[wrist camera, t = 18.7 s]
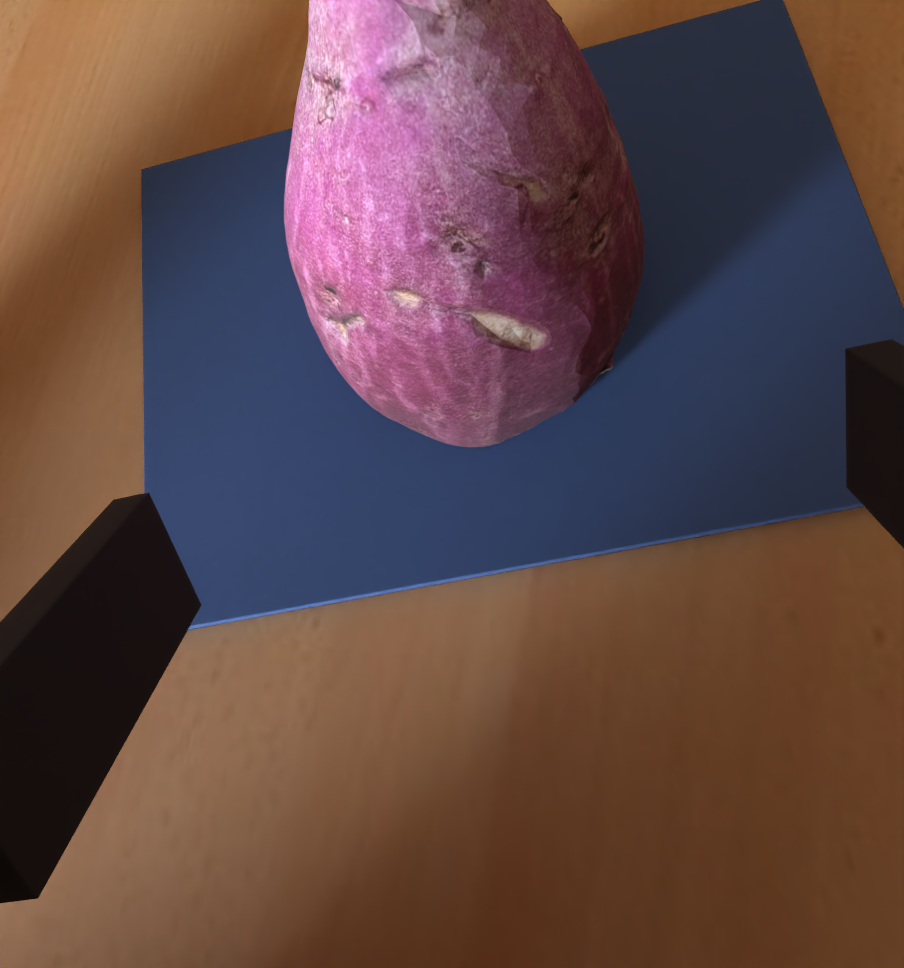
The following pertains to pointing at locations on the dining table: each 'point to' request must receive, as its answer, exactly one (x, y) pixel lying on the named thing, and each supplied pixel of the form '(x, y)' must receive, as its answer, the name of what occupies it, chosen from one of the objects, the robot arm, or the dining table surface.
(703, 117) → the blue rectangular board
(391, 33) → the vegetable
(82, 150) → the dining table surface
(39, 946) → the dining table surface
